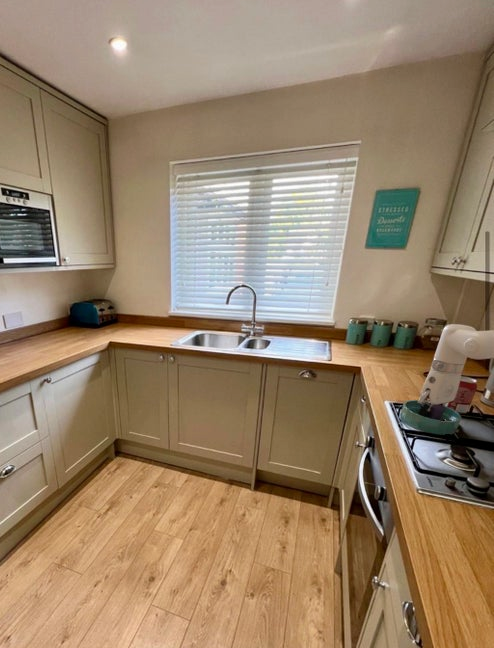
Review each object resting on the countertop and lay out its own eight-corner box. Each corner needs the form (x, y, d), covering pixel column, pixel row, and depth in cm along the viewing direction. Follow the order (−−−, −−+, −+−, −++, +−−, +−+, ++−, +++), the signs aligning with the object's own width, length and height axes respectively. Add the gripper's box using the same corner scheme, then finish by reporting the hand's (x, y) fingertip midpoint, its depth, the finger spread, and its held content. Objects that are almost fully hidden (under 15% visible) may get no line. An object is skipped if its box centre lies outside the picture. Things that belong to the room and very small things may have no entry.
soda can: (469, 416, 112) (483, 384, 107) (446, 413, 114) (458, 381, 110) (462, 408, 118) (474, 377, 113) (440, 405, 120) (451, 374, 115)
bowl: (439, 415, 112) (443, 402, 111) (466, 438, 99) (472, 424, 97) (391, 411, 115) (395, 398, 113) (412, 433, 101) (417, 419, 99)
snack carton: (424, 418, 109) (431, 400, 107) (438, 424, 105) (445, 406, 103) (415, 420, 108) (421, 402, 105) (429, 427, 104) (435, 408, 101)
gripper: (441, 373, 93) (421, 429, 100) (478, 367, 99) (457, 421, 106) (415, 365, 99) (398, 418, 106) (452, 359, 105) (433, 410, 112)
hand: (428, 419), depth 106 cm, fingers closed on snack carton, 4 cm apart
